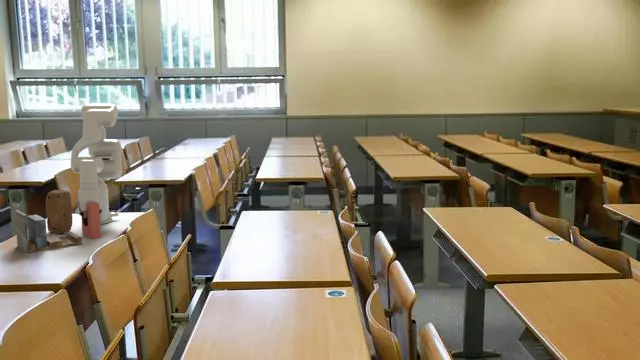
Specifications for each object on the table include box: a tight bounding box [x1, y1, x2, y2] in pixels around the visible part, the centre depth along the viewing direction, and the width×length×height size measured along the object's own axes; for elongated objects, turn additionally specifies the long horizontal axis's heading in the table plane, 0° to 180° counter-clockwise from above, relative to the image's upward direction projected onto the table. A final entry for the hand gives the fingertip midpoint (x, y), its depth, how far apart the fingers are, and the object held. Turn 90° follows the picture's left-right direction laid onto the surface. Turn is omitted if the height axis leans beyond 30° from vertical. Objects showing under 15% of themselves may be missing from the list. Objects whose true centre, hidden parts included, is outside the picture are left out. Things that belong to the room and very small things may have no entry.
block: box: [45, 189, 73, 235], centre depth 284 cm, size 11×8×20 cm
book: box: [80, 202, 101, 240], centre depth 279 cm, size 4×12×16 cm, turn 41°
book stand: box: [14, 209, 83, 254], centre depth 262 cm, size 23×14×16 cm, turn 131°
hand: (90, 224), depth 279 cm, fingers closed on book, 4 cm apart
